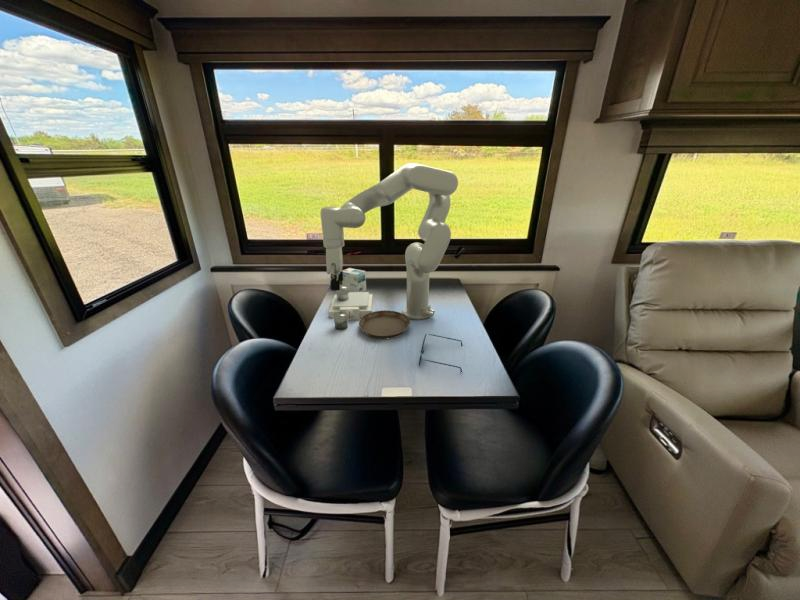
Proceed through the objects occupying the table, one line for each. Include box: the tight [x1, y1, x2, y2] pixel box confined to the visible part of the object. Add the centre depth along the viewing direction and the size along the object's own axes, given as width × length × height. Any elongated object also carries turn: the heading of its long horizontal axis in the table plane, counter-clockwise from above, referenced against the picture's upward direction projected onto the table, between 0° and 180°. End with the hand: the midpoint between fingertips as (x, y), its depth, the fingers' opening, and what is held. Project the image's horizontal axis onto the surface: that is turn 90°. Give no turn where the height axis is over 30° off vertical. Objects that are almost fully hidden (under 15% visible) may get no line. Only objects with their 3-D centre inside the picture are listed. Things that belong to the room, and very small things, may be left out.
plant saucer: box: [358, 310, 411, 340], centre depth 134 cm, size 21×21×3 cm
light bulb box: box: [341, 267, 367, 292], centre depth 169 cm, size 11×7×11 cm, turn 58°
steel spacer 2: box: [333, 312, 349, 332], centre depth 134 cm, size 5×5×6 cm
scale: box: [328, 291, 374, 321], centre depth 149 cm, size 18×21×5 cm
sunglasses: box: [418, 333, 464, 373], centre depth 116 cm, size 17×15×5 cm
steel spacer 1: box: [335, 283, 349, 301], centre depth 148 cm, size 5×5×6 cm
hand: (337, 285), depth 128 cm, fingers open, 9 cm apart
